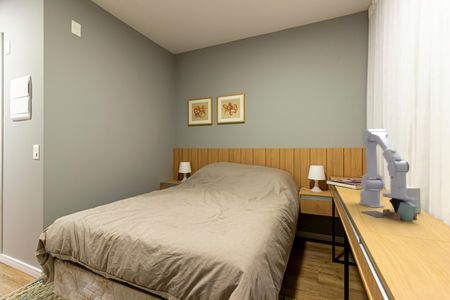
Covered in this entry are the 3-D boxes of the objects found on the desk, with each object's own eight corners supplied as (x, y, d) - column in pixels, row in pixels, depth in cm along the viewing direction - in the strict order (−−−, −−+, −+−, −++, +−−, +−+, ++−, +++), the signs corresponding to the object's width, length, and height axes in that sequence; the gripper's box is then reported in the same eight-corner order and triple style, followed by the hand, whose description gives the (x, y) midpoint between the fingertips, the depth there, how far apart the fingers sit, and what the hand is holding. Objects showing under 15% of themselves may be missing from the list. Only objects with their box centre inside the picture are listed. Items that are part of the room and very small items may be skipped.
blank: (396, 215, 96) (400, 202, 94) (403, 215, 96) (407, 201, 94) (404, 220, 92) (409, 206, 90) (412, 220, 92) (416, 206, 91)
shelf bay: (382, 215, 99) (382, 209, 99) (400, 214, 101) (400, 208, 101) (398, 220, 92) (398, 214, 92) (416, 219, 93) (416, 212, 93)
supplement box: (421, 213, 103) (421, 188, 103) (406, 213, 103) (406, 188, 103) (408, 209, 110) (408, 185, 111) (394, 209, 111) (394, 185, 111)
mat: (360, 212, 105) (360, 211, 105) (376, 211, 107) (376, 210, 107) (376, 217, 96) (376, 216, 96) (392, 216, 98) (392, 215, 98)
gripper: (377, 184, 103) (377, 211, 103) (407, 189, 89) (407, 220, 89) (389, 183, 104) (389, 210, 104) (420, 188, 90) (421, 219, 90)
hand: (398, 215), depth 96 cm, fingers closed
